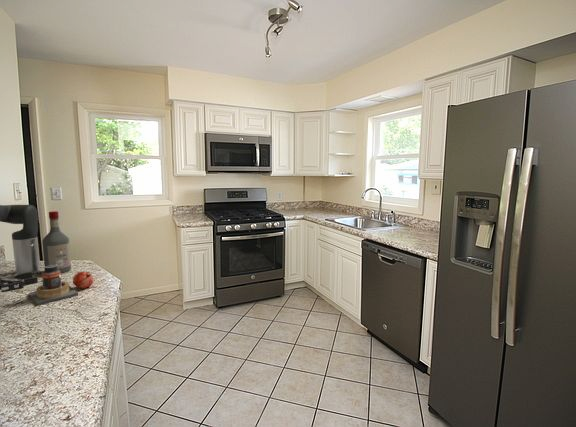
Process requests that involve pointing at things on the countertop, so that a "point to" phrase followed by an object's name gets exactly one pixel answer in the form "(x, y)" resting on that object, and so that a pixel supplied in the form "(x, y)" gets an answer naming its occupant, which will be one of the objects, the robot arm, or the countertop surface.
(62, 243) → the liquor
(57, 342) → the countertop surface
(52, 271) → the supplement bottle
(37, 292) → the ring board
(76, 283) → the pomegranate
